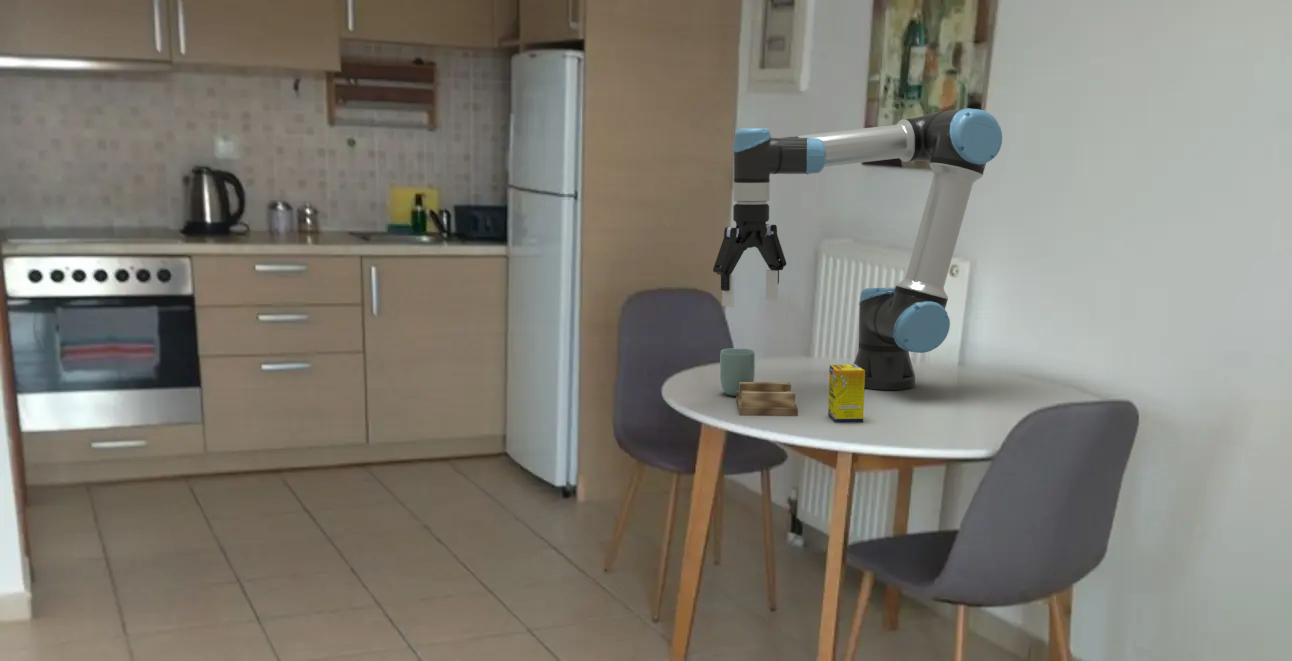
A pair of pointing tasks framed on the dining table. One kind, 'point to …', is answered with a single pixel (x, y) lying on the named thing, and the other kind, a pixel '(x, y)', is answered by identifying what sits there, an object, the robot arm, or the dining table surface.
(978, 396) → the dining table surface
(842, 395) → the supplement box
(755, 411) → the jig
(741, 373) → the cup
